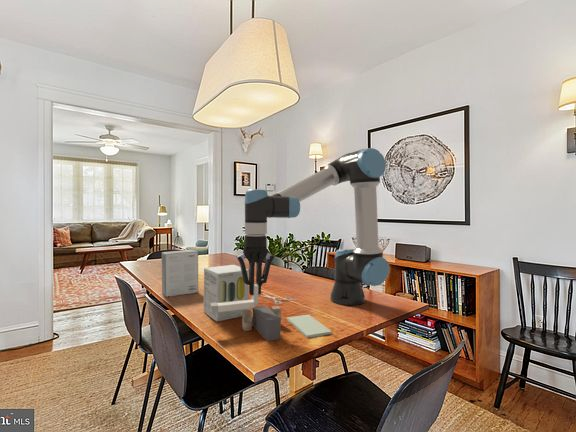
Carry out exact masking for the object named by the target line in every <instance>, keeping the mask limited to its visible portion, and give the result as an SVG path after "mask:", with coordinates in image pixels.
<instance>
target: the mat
mask: <svg viewBox="0 0 576 432" xmlns="http://www.w3.org/2000/svg"><path fill="white" fill-rule="evenodd" d="M286 320H287V321H288V323H289V324H291V325H292V326H293V327H294V328H295V329H296V330H297V331H298V332H300V333H301V334H302V335H303V336H304V337H305V338H307V339H308V338H315V337H321V336H328V335H331V334H332V333H333V331H332V330H330V329H329V328H328V327H326V326H325V325H324V324H322V323H321V322H320V321H318V320H317V319H316V318H314V317H313V316H311V315H310V314H304V315H303V314H302V315H295V316H287V317H286Z"/></svg>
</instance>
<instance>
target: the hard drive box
mask: <svg viewBox="0 0 576 432" xmlns="http://www.w3.org/2000/svg"><path fill="white" fill-rule="evenodd" d="M195 293H199V251H198V250H195V249H186V250H173V251H172V250H171V251H162V252H161V294H162V295H163V296H164V297H165V298H167V297H168V296H169V297H175V296H176V297H177V296H182V295H189V294H190V295H191V294H195Z"/></svg>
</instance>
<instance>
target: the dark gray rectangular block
mask: <svg viewBox="0 0 576 432" xmlns="http://www.w3.org/2000/svg"><path fill="white" fill-rule="evenodd" d="M280 325H282V318H281V319H280V318H279V317H278V316H277V315H276V314H274V313H273V312H272V311H271V309H270V308H269V307H267V306H266V305H257V306H254V308H252V326H253V327H254V329H255V330H256V331H257V332H258V333H259V334H260V335H261V336H262V337H263V339H264V340H265V341H266V342H269V341H274V340H275V341H276V340H281V326H280Z"/></svg>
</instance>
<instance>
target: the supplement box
mask: <svg viewBox="0 0 576 432" xmlns="http://www.w3.org/2000/svg"><path fill="white" fill-rule="evenodd" d="M246 271H247V276H248V280H249V268H246ZM249 296H250V294H249V285H247V284H245V283H244V280H243V276H242V272H241V267H240V265H236V264H228V265H218V266H209V267H204V268H203V312H204V313H205V314H206V315H207V316H209V317H210V318H211V319H213V320H214V321H215V322H217V323H218V322H221V321H227V320H230V319H235V318H240V317H242V310H247V309H240V310H232V311H223V312H218V313H214V314H212V313H211V311H210V303H215V302H216V303H223V302H233V301H242V300H250V299H249V298H250V297H249Z"/></svg>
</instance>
